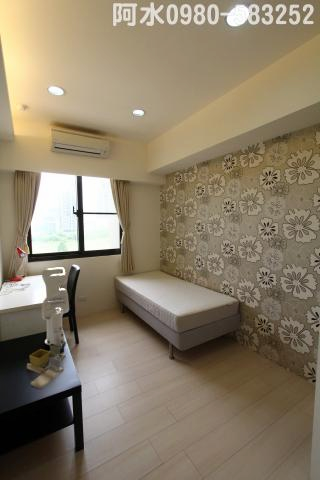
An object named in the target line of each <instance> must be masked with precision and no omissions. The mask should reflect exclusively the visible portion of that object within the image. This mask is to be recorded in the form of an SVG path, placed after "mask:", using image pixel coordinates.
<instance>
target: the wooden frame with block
mask: <svg viewBox="0 0 320 480" xmlns="http://www.w3.org/2000/svg"><path fill="white" fill-rule="evenodd" d="M48 351H49V352H50V354H49V357H55V356H56V355H59V356H60V361H61V360H63V359H64V358H65V357H67V356H66V353H62V354H60V346H58V345H54V346H53V345H49V350H48ZM26 369H27V370H30V371H33V372H35V373H38V374H40V375H42V374H43V373H44V372H46V371H47V370H48V369H49V364H48V365H47V366H45V368H44V367H42V368H41V367H38V366H35V365H32V364H31V363H27V364H26Z"/></svg>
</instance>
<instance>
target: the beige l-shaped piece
mask: <svg viewBox="0 0 320 480" xmlns="http://www.w3.org/2000/svg"><path fill="white" fill-rule="evenodd" d="M60 357H61V356H59V355H56V356H55V357H51V356H49V360H48V365H49V369H48V370H47V371H46V372H44V373H43V374H40V375H38V377H37V378H35V379H33V380H32V381H31V382H30V385H31V386H33V387H36V388H38V389H43V388H44V387H45V386H46V385H48V384H49V382H51V381H53V380H54V379H55V378H56V377H58V375H60V373H62V372H63V371H64V368H63V367H61V363H60V362H61V360H60Z"/></svg>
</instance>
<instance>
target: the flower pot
mask: <svg viewBox="0 0 320 480" xmlns="http://www.w3.org/2000/svg"><path fill="white" fill-rule="evenodd" d="M49 351H50V350H45V349H42V348H40V349H38V350H37V351H35V352H33V353H32V354H30V355H29V362H30V364H32V365H35V366H38V367H41V368H44V367H46V365H47V364H48V363H49V357H50V352H49Z"/></svg>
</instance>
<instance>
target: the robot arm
mask: <svg viewBox="0 0 320 480" xmlns="http://www.w3.org/2000/svg"><path fill="white" fill-rule="evenodd" d="M41 277H42V280H43V282H44V284H45V292H46V297H45V298H44V300H43V302H42V304H41V316H42V319H43V320H44V321H46V339H45V340H44V343H45V344H46V345H48V346H50V345H53V346H54V345H58V346H60V354H64V352H65V347H66V346H67V343H68V342H67V341H66V340H65V331H64V330H63V315H64V314H66V313H68V312H69V311H70V304H69V294H68V290H67V289H66V288H60V285H65V284H67V282H68V278H67V277H68V276H67V271H66V269H65V268H64V267H50V268H45V269H43V270H42V271H41ZM48 302H49V303H48Z"/></svg>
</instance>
